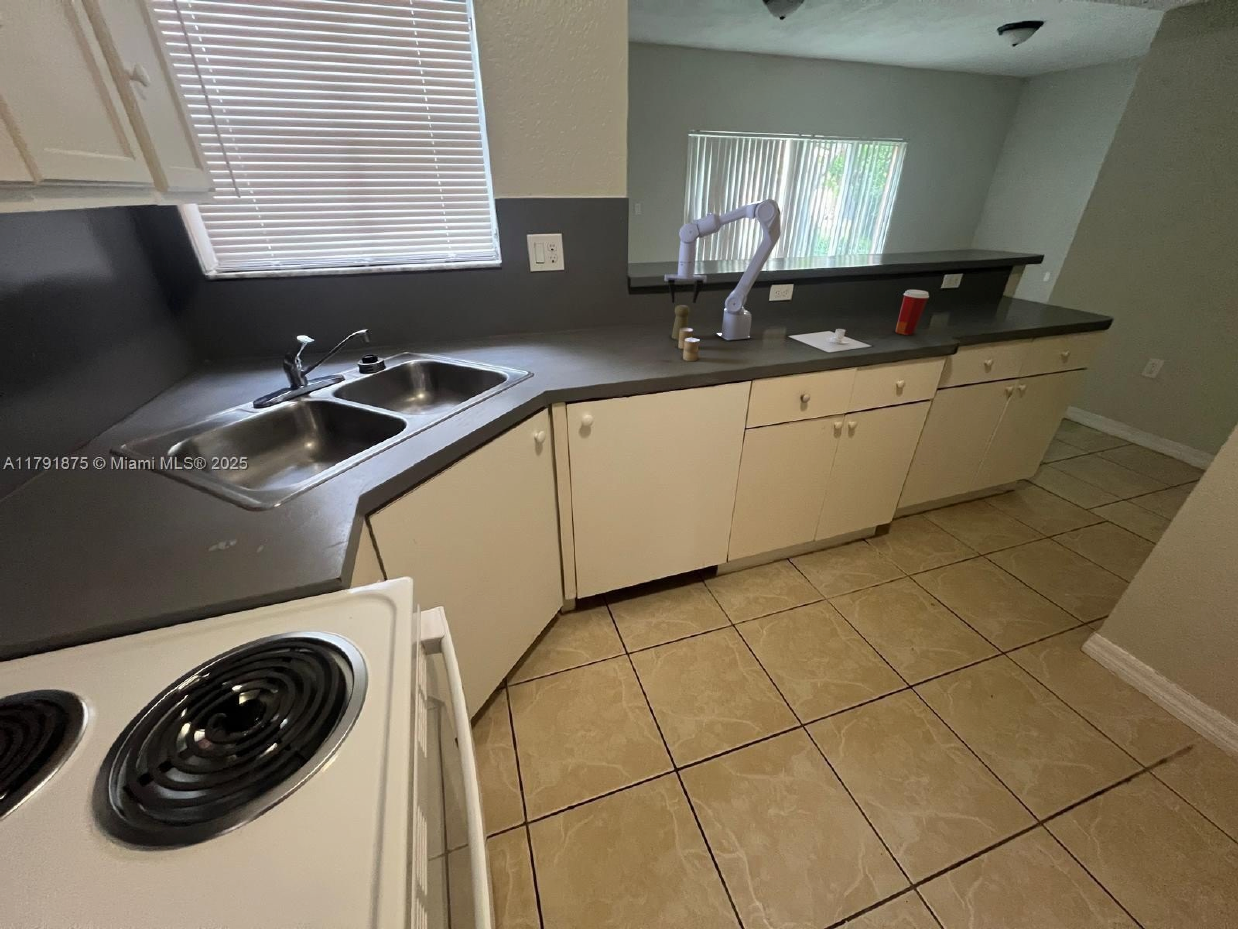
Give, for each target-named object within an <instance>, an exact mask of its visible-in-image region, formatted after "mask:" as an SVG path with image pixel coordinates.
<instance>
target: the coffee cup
mask: <svg viewBox="0 0 1238 929" xmlns="http://www.w3.org/2000/svg"><path fill="white" fill-rule="evenodd" d="M929 298H930V294H929V292H928V291H926V290H921V289H907V290H905V292H904V293H903V299H902V303H901V307H900V311H899V316H898V320H897V324H896V328H895V333H896V334H899V335H905V336H913V334H914V333H915V331H916V328H917V326H918V323H919V321H920V318H921V316H922V313H923V310H924V308H925V305H926V303H927V300H928V299H929Z"/></svg>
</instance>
